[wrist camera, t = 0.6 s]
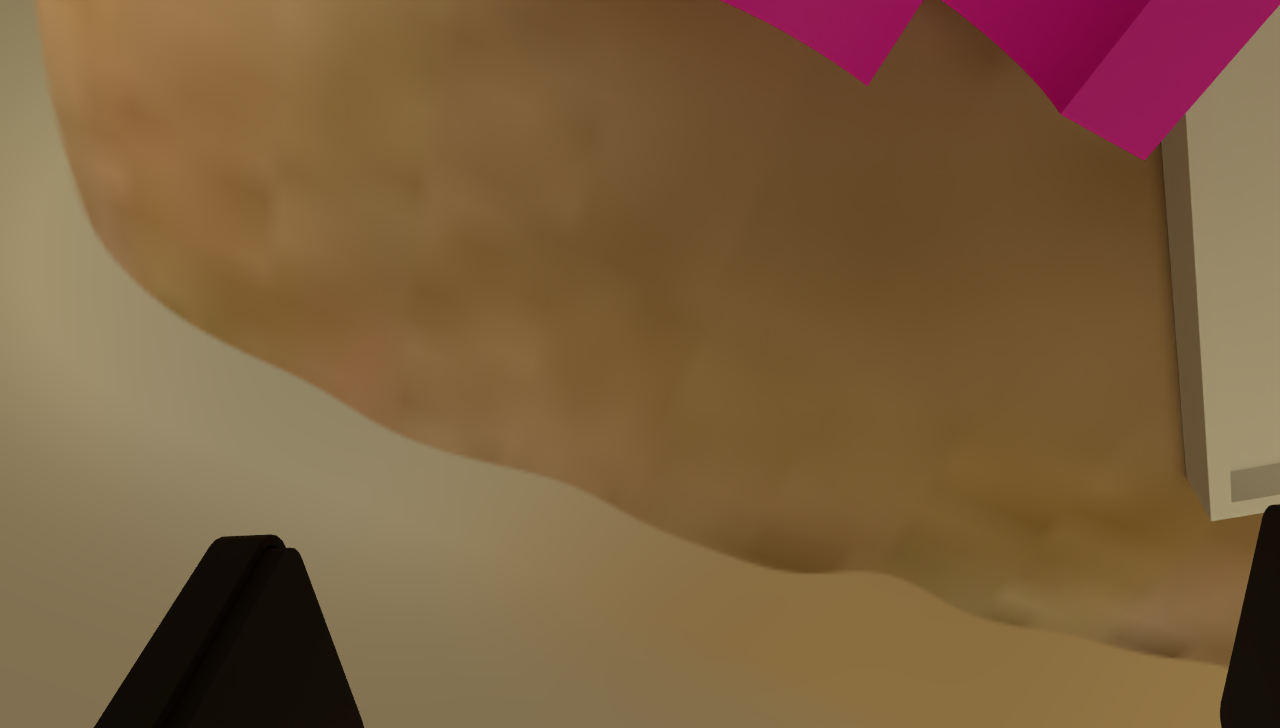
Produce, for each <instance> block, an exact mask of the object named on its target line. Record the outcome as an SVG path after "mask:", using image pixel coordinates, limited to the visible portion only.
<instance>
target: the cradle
mask: <svg viewBox="0 0 1280 728" xmlns="http://www.w3.org/2000/svg"><path fill="white" fill-rule="evenodd" d="M1161 147H1162V160H1163V174H1164V187H1165V200H1166V214H1167V227H1168V240H1169V254H1170V267H1171V280H1172V294H1173V307H1174V320H1175V334H1176V347H1177V360H1178V374H1179V387H1180V400H1181V414H1182V427H1183V440H1184V454H1185V467H1186V478H1187V480H1188V481H1189V483H1190V485H1191V487H1192V488H1193V490H1194V492H1195V494H1196V495H1197V497H1198V499H1199V501H1200V502H1201V504H1202V506H1203V508H1204V510H1205V511H1206V513H1207V515H1208V517H1209V518H1210V520H1211V521H1216V520H1222V519H1228V518H1234V517H1240V516H1246V515H1252V514H1258V513H1264V512H1265V510H1266V509H1267V507H1268V506H1270V505H1275V504H1280V5H1279V6H1278V8H1277V9H1276V10H1275V11H1274V12H1273V13H1272V15H1271V16H1270V17H1269V18H1268V19H1267V20H1266V21H1265V23H1264V24H1263V25H1262V26H1261V27H1260V28H1259V29H1258V31H1257V32H1256V33H1255V34H1254V35H1253V36H1252V38H1251V39H1250V40H1249V41H1248V42H1247V43H1246V44H1245V46H1244V47H1243V48H1242V49H1241V50H1240V51H1239V52H1238V54H1237V55H1236V56H1235V57H1234V58H1233V59H1232V61H1231V62H1230V63H1229V64H1228V65H1227V66H1226V67H1225V69H1224V70H1223V71H1222V72H1221V73H1220V74H1219V75H1218V77H1217V78H1216V79H1215V80H1214V81H1213V82H1212V84H1211V85H1210V86H1209V87H1208V88H1207V89H1206V90H1205V92H1204V93H1203V94H1202V95H1201V96H1200V97H1199V98H1198V100H1197V101H1196V102H1195V103H1194V104H1193V105H1192V107H1191V108H1190V109H1189V110H1188V111H1187V112H1186V113H1185V115H1184V116H1183V117H1182V118H1181V119H1180V120H1179V121H1178V123H1177V124H1176V125H1175V126H1174V127H1173V128H1172V130H1171V131H1170V132H1169V133H1168V134H1167V135H1166V136H1165V138H1164V139H1163V140H1162V141H1161Z"/></svg>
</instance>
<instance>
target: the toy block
mask: <svg viewBox="0 0 1280 728" xmlns="http://www.w3.org/2000/svg"><path fill="white" fill-rule="evenodd" d="M721 1H723V2H725V3H727V4H730V5H732V6H734V7H736V8H738V9H741V10H743V11H745V12H747V13H749V14H751V15H753V16H755V17H757V18H759V19H761V20H763V21H765V22H767V23H769V24H771V25H772V26H774V27H776V28H778V29H780V30H782V31H783V32H785V33H787V34H789V35H791V36H792V37H794V38H796V39H797V40H799V41H801V42H802V43H804V44H806V45H808V46H809V47H811V48H812V49H814V50H816V51H817V52H819V53H820V54H822V55H823V56H825V57H827V58H828V59H830V60H831V61H833V62H834V63H836V64H837V65H839V66H840V67H841V68H843V69H844V70H846V71H847V72H849V73H850V74H851V75H853V76H854V77H856V78H857V79H858V80H860V81H861V82H863V83H864V84H865V85H867V86H868V84H869V83H870V81H871V80H872V78H873V77H874V75H875V74H876V72H877V70H878V69H879V67H880V66H881V64H882V63H883V61H884V60H885V58H886V57H887V55H888V54H889V52H890V51H891V49H892V47H893V46H894V44H895V43H896V41H897V40H898V38H899V37H900V35H901V34H902V32H903V31H904V29H905V28H906V26H907V24H908V23H909V21H910V20H911V18H912V17H913V15H914V14H915V12H916V11H917V9H918V8H919V6H920V5H921V3H922V1H923V0H721ZM942 1H943V2H945V3H946V4H947V5H949V6H950V7H951V8H953V9H954V10H955V11H957V12H958V13H959V14H960V15H962V16H963V17H964V18H966V19H967V20H968V21H969V22H971V23H972V24H973V25H974V26H975V27H977V28H978V29H979V30H980V31H982V32H983V33H984V34H985V35H986V36H987V37H989V38H990V39H991V40H992V41H993V42H994V43H996V44H997V45H998V46H999V47H1000V48H1001V49H1002V50H1003V51H1004V52H1006V53H1007V54H1008V55H1009V56H1010V57H1011V58H1012V59H1013V60H1014V61H1015V62H1016V63H1017V64H1018V65H1019V66H1020V67H1021V68H1022V69H1023V70H1024V71H1025V72H1026V73H1027V74H1028V75H1029V76H1030V77H1031V78H1032V79H1033V80H1034V81H1035V83H1036V84H1037V85H1038V86H1039V87H1040V88H1041V89H1042V90H1043V92H1044V93H1045V94H1046V95H1047V97H1048V98H1049V99H1050V100H1051V102H1052V103H1053V104H1054V106H1055V107H1056V109H1057V110H1058V112H1059V113H1060V114H1061V115H1063V116H1064V117H1066V118H1068V119H1070V120H1072V121H1073V122H1075V123H1077V124H1079V125H1081V126H1082V127H1084V128H1086V129H1088V130H1090V131H1091V132H1093V133H1095V134H1097V135H1099V136H1100V137H1102V138H1104V139H1106V140H1108V141H1110V142H1111V143H1113V144H1115V145H1117V146H1119V147H1120V148H1122V149H1124V150H1126V151H1128V152H1129V153H1131V154H1133V155H1135V156H1137V157H1138V158H1140V159H1142V160H1144V161H1145V159H1146V158H1147V157H1148V156H1149V155H1150V154H1151V153H1152V151H1153V150H1154V149H1155V148H1156V147H1157V146H1158V144H1159V143H1160V142H1161V141H1162V140H1163V139H1164V138H1165V136H1166V135H1167V134H1168V133H1169V132H1170V131H1171V130H1172V128H1173V127H1174V126H1175V125H1176V124H1177V123H1178V121H1179V120H1180V119H1181V118H1182V117H1183V116H1184V115H1185V113H1186V112H1187V111H1188V110H1189V109H1190V108H1191V107H1192V105H1193V104H1194V103H1195V102H1196V101H1197V100H1198V98H1199V97H1200V96H1201V95H1202V94H1203V93H1204V92H1205V90H1206V89H1207V88H1208V87H1209V86H1210V85H1211V84H1212V82H1213V81H1214V80H1215V79H1216V78H1217V77H1218V75H1219V74H1220V73H1221V72H1222V71H1223V70H1224V69H1225V67H1226V66H1227V65H1228V64H1229V63H1230V62H1231V61H1232V59H1233V58H1234V57H1235V56H1236V55H1237V54H1238V52H1239V51H1240V50H1241V49H1242V48H1243V47H1244V46H1245V44H1246V43H1247V42H1248V41H1249V40H1250V39H1251V38H1252V36H1253V35H1254V34H1255V33H1256V32H1257V31H1258V29H1259V28H1260V27H1261V26H1262V25H1263V24H1264V23H1265V21H1266V20H1267V19H1268V18H1269V17H1270V16H1271V15H1272V13H1273V12H1274V11H1275V10H1276V9H1277V8H1278V6H1279V5H1280V0H942Z"/></svg>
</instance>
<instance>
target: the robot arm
mask: <svg viewBox="0 0 1280 728" xmlns="http://www.w3.org/2000/svg"><path fill="white" fill-rule="evenodd" d="M1220 720H1221V726H1222V728H1280V504H1275V505H1270V506H1268V507H1267V509H1266V510H1265V512H1264V515H1263V518H1262V522H1261V527H1260V531H1259V535H1258V540H1257V544H1256V549H1255V553H1254V558H1253V562H1252V567H1251V571H1250V576H1249V580H1248V585H1247V589H1246V593H1245V598H1244V602H1243V607H1242V611H1241V616H1240V620H1239V625H1238V629H1237V634H1236V638H1235V643H1234V647H1233V651H1232V656H1231V660H1230V665H1229V669H1228V674H1227V678H1226V683H1225V687H1224V692H1223V696H1222V700H1221V707H1220ZM94 728H364V726H363V722H362V719H361V716H360V714H359V711H358V708H357V706H356V703H355V700H354V697H353V695H352V692H351V689H350V687H349V684H348V681H347V679H346V676H345V673H344V671H343V668H342V665H341V662H340V660H339V657H338V655H337V652H336V649H335V646H334V644H333V641H332V638H331V635H330V633H329V630H328V628H327V625H326V622H325V619H324V617H323V614H322V611H321V609H320V606H319V603H318V600H317V598H316V595H315V592H314V590H313V587H312V584H311V582H310V579H309V576H308V573H307V571H306V568H305V565H304V563H303V560H302V558H301V556H300V554H299V552H298V551H297V550H296V549H295V548H286V547H285V545H284V543H283V541H282V540H281V539H280V538H279V537H278V536H276V535H252V536H251V535H250V536H229V537H221V538H219V539H216V540H215V541H214V542H213V543H212V544H211V546H210V547H209V548H208V550H207V552H206V553H205V555H204V556H203V558H202V559H201V561H200V562H199V564H198V566H197V567H196V569H195V570H194V572H193V573H192V575H191V576H190V578H189V580H188V581H187V583H186V585H185V586H184V587H183V589H182V591H181V592H180V594H179V596H178V597H177V598H176V600H175V601H174V603H173V605H172V606H171V608H170V609H169V611H168V613H167V614H166V616H165V617H164V619H163V620H162V622H161V624H160V625H159V627H158V628H157V630H156V632H155V633H154V634H153V636H152V637H151V639H150V641H149V642H148V644H147V645H146V647H145V648H144V650H143V652H142V653H141V655H140V656H139V658H138V659H137V661H136V663H135V664H134V666H133V667H132V669H131V670H130V672H129V674H128V675H127V677H126V678H125V680H124V681H123V683H122V684H121V686H120V688H119V689H118V691H117V692H116V694H115V695H114V697H113V698H112V700H111V702H110V703H109V705H108V706H107V708H106V709H105V711H104V712H103V714H102V716H101V717H100V719H99V720H98V722H97V724H96V725H95V727H94Z"/></svg>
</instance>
